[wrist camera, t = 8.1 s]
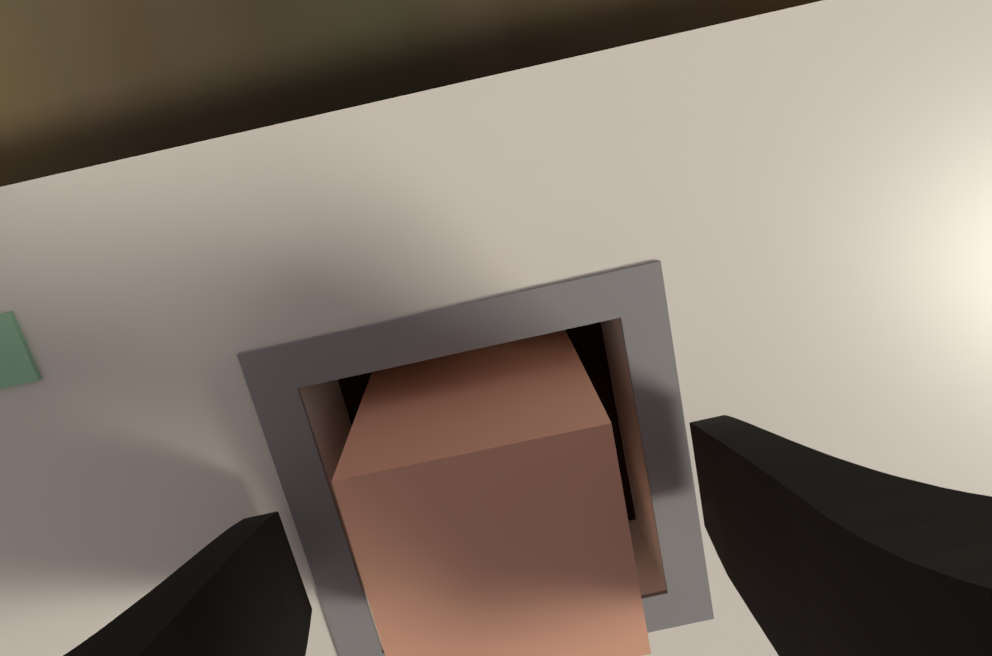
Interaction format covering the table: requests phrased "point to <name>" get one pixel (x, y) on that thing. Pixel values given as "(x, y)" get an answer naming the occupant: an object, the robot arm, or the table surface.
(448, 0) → the table surface
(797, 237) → the outlet block
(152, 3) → the table surface
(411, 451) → the plug block
